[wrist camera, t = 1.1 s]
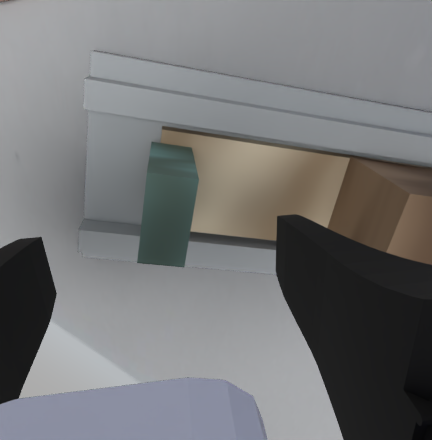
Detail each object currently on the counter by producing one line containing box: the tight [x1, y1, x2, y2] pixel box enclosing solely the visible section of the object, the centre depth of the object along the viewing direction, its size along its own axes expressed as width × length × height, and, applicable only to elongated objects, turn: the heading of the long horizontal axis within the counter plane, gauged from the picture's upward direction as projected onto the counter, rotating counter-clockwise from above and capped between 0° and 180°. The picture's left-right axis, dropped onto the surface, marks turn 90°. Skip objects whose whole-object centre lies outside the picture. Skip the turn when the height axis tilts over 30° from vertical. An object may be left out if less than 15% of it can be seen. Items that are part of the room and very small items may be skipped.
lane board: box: [78, 50, 432, 275], centre depth 20 cm, size 20×10×2 cm, turn 80°
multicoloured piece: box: [137, 126, 432, 267], centre depth 17 cm, size 15×5×5 cm, turn 80°
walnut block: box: [327, 156, 432, 265], centre depth 18 cm, size 5×5×5 cm
